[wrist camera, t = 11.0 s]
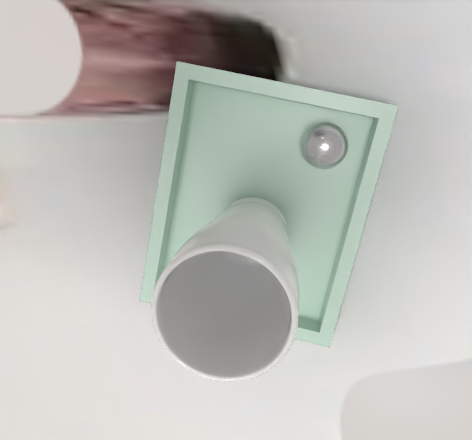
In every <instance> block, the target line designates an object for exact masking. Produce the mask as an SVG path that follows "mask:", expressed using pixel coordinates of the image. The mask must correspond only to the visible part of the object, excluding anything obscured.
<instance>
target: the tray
mask: <svg viewBox="0 0 472 440" xmlns="http://www.w3.org/2000/svg"><path fill="white" fill-rule="evenodd" d="M397 110H398V106H397V105H392V104H387V103H382V102H377V101H372V100H367V99H362V98H357V97H352V96H347V95H342V94H337V93H332V92H327V91H322V90H317V89H312V88H307V87H302V86H298V85H293V84H288V83H283V82H278V81H273V80H268V79H263V78H258V77H253V76H248V75H243V74H238V73H233V72H228V71H223V70H218V69H213V68H208V67H203V66H198V65H193V64H189V63H184V62H179V61H177V63H176V70H175V76H174V83H173V89H172V95H171V102H170V108H169V115H168V121H167V128H166V134H165V140H164V147H163V153H162V160H161V166H160V173H159V179H158V185H157V192H156V198H155V205H154V211H153V217H152V224H151V230H150V237H149V243H148V250H147V256H146V262H145V269H144V275H143V282H142V288H141V295H140V301H143V302H147V303H152V296H153V292H154V289H155V286H156V283H157V281H158V279H159V277H160V276H161V274H162V272H163V271H164V270H165V268H166V266H167V265H168V263H169V262H170V260H171V259H172V258H173V256H174V255H175V254H176V252H177V251H178V250H179V249H180V248H181V246H182V245H183V244H184V243H185V242H186V241H187V240H188V239H189V238H190V237H191V236H192V235H193V234H195V233H196V232H197V231H198V230H199V229H201V228H202V227H203V226H205V225H206V224H208V223H209V222H210V221H212V220H213V219H214V218H216V217H217V216H218V215H220V214H221V213H222V212H223V211H224V210H225V209H226V208H227V207H228V206H229V205H230V204H231V203H233V202H235V201H237V200H239V199H242V198H246V197H258V198H262V199H265V200H268V201H270V202H271V203H273V204H274V205H275V206H277V207H278V208H279V210H280V211H281V212H282V213H283V215H284V217H285V219H286V222H287V226H288V236H289V240H290V244H291V248H292V251H293V255H294V258H295V262H296V267H297V271H298V278H299V289H300V304H299V316H298V327H297V332H296V335H295V339H297V340H301V341H305V342H309V343H313V344H317V345H321V346H325V347H329V348H330V344H331V341H332V337H333V334H334V330H335V327H336V323H337V320H338V316H339V313H340V309H341V306H342V302H343V299H344V295H345V292H346V288H347V285H348V281H349V278H350V274H351V271H352V267H353V264H354V260H355V257H356V253H357V250H358V246H359V243H360V239H361V236H362V232H363V229H364V225H365V222H366V218H367V215H368V211H369V208H370V204H371V201H372V197H373V194H374V190H375V187H376V183H377V180H378V176H379V173H380V169H381V166H382V162H383V159H384V155H385V152H386V148H387V145H388V141H389V138H390V134H391V131H392V127H393V124H394V120H395V117H396V113H397ZM321 122H330V123H334V124H336V125H338V126H339V127H340V128H341V129H342V130H343V131H344V132H345V134H346V136H347V139H348V152H347V154H346V156H345V158H344V160H343V161H342V162H341V163H340V164H339V165H337V166H335V167H333V168H331V169H317V168H314V167H312V166H311V165H309V164H308V163H307V162H306V161H305V159H304V158H303V155H302V153H301V141H302V138H303V135H304V134H305V132H306V131H307V130H308V129H309V128H310V127H311V126H313V125H315V124H317V123H321Z"/></svg>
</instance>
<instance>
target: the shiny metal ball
mask: <svg viewBox="0 0 472 440" xmlns="http://www.w3.org/2000/svg"><path fill="white" fill-rule="evenodd" d="M347 152H348V139H347V136H346V134H345V132H344V131H343V130H342V129H341V128H340V127H339V126H338V125H336V124H334V123H330V122H321V123H317V124H315V125H313V126H311V127H310V128H309V129H308V130H307V131H306V132H305V134H304V135H303V138H302V141H301V153H302V155H303V158H304V159H305V161H306V162H307V163H308V164H309V165H311V166H312V167H314V168H317V169H331V168H333V167H335V166H337V165H339V164H340V163H341V162H342V161H343V160H344V158H345V156H346V154H347Z"/></svg>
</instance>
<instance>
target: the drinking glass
mask: <svg viewBox="0 0 472 440" xmlns="http://www.w3.org/2000/svg"><path fill="white" fill-rule="evenodd" d="M299 304H300V289H299V278H298V271H297V267H296V262H295V258H294V255H293V251H292V248H291V244H290V240H289V236H288V226H287V222H286V219H285V217H284V215H283V213H282V212H281V211H280V210H279V208H278V207H277V206H275V205H274V204H273V203H271V202H270V201H268V200H265V199H262V198H258V197H246V198H242V199H239V200H237V201H235V202H233V203H231V204H230V205H229V206H228V207H227V208H226V209H225V210H224V211H223V212H222V213H221V214H220V215H218V216H217V217H216V218H214V219H213V220H212V221H210V222H209V223H208V224H206V225H205V226H203V227H202V228H201V229H199V230H198V231H197V232H196V233H195V234H193V235H192V236H191V237H190V238H189V239H188V240H187V241H186V242H185V243H184V244H183V245H182V246H181V248H180V249H179V250H178V251H177V252H176V254H175V255H174V256H173V258H172V259H171V260H170V262H169V263H168V265H167V266H166V268H165V270H164V271H163V272H162V274H161V276H160V277H159V279H158V281H157V283H156V286H155V289H154V292H153V296H152V303H151V314H152V321H153V326H154V329H155V332H156V334H157V337H158V339H159V341H160V342H161V344H162V346H163V347H164V349H165V350H166V351H167V353H168V354H169V355H170V356H171V357H172V358H173V359H174V360H175V361H176V362H177V363H178V364H180V365H181V366H182V367H184V368H185V369H187V370H189V371H190V372H192V373H194V374H196V375H199V376H201V377H204V378H207V379H211V380H215V381H223V382H236V381H243V380H248V379H252V378H254V377H257V376H259V375H262V374H264V373H265V372H267V371H269V370H270V369H272V368H273V367H274V366H276V365H277V364H278V363H279V362H280V361H281V360H282V359H283V358H284V356H285V355H286V354H287V352H288V351H289V349H290V347H291V346H292V343H293V341H294V339H295V335H296V332H297V327H298V316H299Z"/></svg>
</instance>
